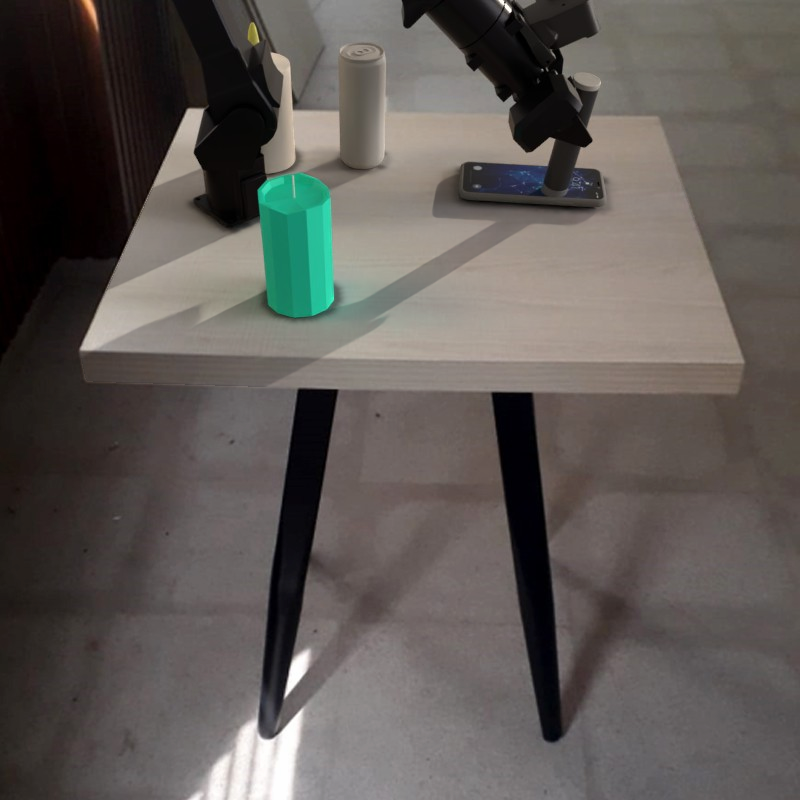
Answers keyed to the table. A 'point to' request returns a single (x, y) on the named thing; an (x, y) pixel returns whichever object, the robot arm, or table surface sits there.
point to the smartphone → (528, 185)
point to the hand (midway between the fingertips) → (585, 136)
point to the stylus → (565, 152)
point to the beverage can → (362, 104)
